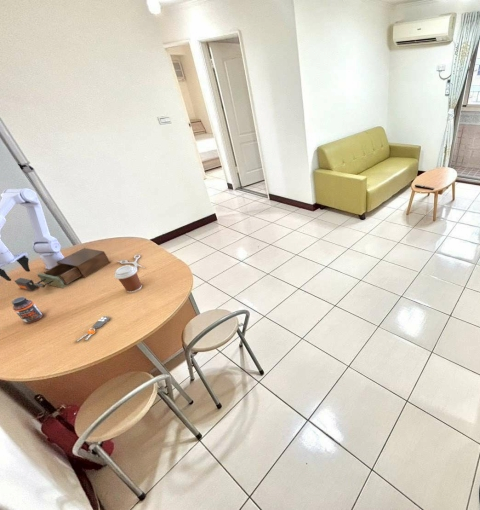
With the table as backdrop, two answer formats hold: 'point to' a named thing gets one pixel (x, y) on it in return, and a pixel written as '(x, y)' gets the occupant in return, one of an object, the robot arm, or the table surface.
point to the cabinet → (86, 261)
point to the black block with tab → (26, 284)
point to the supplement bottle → (26, 310)
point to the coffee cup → (128, 278)
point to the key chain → (96, 326)
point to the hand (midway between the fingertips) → (18, 275)
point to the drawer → (58, 276)
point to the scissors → (132, 262)
